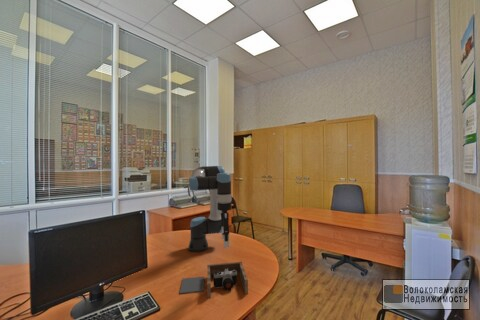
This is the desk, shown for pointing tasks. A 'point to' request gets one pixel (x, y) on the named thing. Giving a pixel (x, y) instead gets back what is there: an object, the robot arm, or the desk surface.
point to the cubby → (231, 266)
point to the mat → (192, 285)
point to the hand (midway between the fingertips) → (225, 242)
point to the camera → (225, 279)
